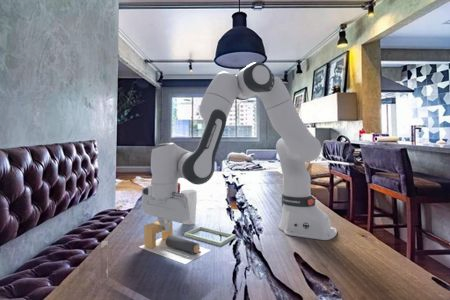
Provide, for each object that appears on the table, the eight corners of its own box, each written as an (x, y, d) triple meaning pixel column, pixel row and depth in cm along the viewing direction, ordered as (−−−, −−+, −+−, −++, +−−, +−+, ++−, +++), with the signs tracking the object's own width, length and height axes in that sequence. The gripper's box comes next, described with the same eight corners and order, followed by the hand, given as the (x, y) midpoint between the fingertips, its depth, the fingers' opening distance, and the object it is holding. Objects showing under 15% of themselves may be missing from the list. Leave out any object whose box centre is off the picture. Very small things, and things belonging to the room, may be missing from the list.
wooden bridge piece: (172, 239, 96) (172, 220, 96) (152, 248, 89) (151, 227, 88) (165, 237, 98) (164, 218, 98) (144, 245, 91) (143, 225, 91)
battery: (198, 255, 85) (202, 244, 86) (192, 254, 82) (195, 242, 83) (170, 246, 92) (173, 235, 94) (163, 244, 90) (166, 234, 91)
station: (211, 253, 87) (211, 248, 87) (185, 268, 78) (185, 262, 78) (165, 239, 100) (165, 234, 100) (138, 250, 91) (138, 245, 91)
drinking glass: (182, 228, 112) (181, 193, 112) (180, 223, 119) (180, 190, 118) (198, 226, 114) (197, 192, 113) (195, 222, 121) (195, 189, 120)
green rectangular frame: (235, 240, 98) (235, 234, 98) (220, 249, 91) (220, 242, 91) (200, 231, 108) (200, 226, 108) (184, 238, 101) (184, 232, 101)
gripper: (193, 192, 87) (194, 234, 87) (152, 186, 99) (153, 223, 99) (179, 195, 82) (180, 240, 82) (138, 188, 94) (139, 227, 94)
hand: (165, 230), depth 91 cm, fingers closed
